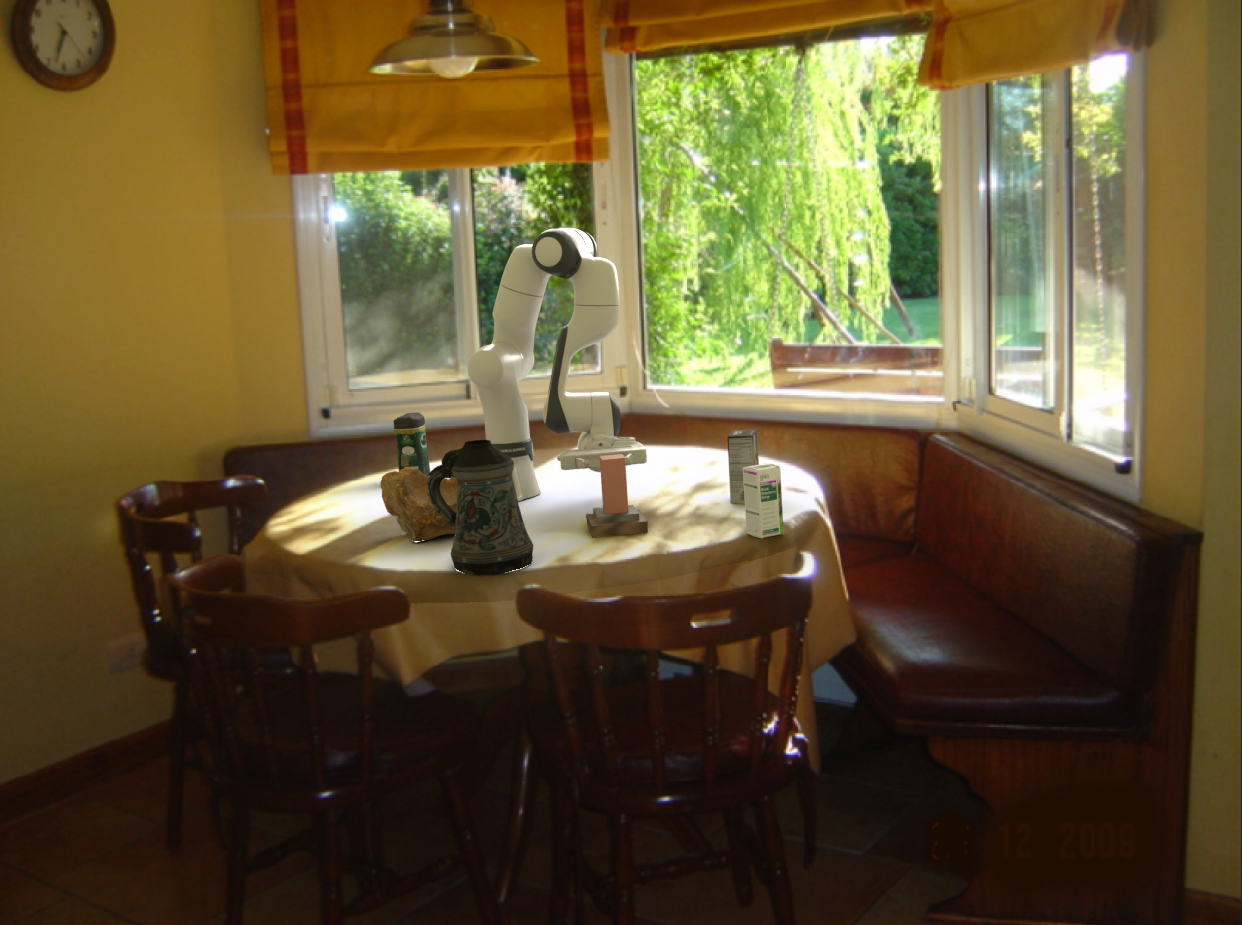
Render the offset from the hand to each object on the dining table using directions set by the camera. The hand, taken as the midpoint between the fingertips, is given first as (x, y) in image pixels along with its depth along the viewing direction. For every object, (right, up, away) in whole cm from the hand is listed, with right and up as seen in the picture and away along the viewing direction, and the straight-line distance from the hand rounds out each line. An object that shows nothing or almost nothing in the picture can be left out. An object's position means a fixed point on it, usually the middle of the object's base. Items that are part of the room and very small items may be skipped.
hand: (606, 463), depth 270 cm
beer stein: (-24, -21, -33) cm, 45 cm away
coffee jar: (-54, -5, +63) cm, 83 cm away
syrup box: (+33, -15, -22) cm, 43 cm away
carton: (+2, -10, -10) cm, 15 cm away
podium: (+2, -14, -9) cm, 17 cm away
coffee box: (+33, -9, +11) cm, 36 cm away
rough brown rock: (-38, -17, -6) cm, 42 cm away
